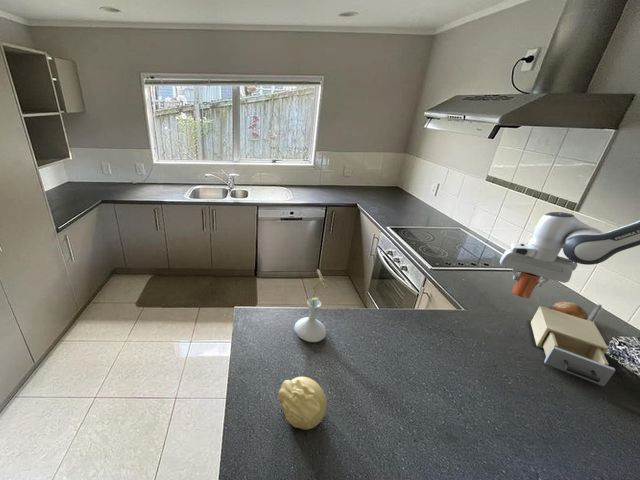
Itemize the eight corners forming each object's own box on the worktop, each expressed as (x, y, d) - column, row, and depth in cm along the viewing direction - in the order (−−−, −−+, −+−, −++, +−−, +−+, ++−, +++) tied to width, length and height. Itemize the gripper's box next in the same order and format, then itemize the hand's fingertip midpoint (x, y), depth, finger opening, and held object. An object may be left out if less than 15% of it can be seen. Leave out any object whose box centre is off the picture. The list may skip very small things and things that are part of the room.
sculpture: (270, 413, 75) (273, 385, 71) (297, 385, 83) (301, 359, 79) (305, 448, 67) (310, 419, 63) (331, 414, 75) (337, 386, 71)
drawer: (608, 397, 82) (621, 380, 80) (546, 372, 90) (556, 356, 87) (589, 356, 96) (600, 341, 94) (537, 337, 104) (545, 323, 101)
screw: (585, 328, 111) (596, 337, 107) (571, 325, 112) (581, 334, 107) (602, 301, 106) (614, 309, 102) (587, 299, 107) (598, 307, 102)
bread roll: (577, 323, 118) (582, 305, 118) (591, 329, 109) (597, 309, 109) (546, 314, 123) (551, 297, 123) (557, 318, 114) (562, 300, 114)
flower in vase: (323, 349, 96) (334, 288, 86) (291, 339, 99) (298, 280, 90) (327, 323, 107) (337, 268, 98) (298, 316, 111) (304, 261, 101)
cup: (529, 293, 115) (539, 272, 111) (530, 299, 111) (541, 278, 107) (511, 288, 118) (521, 267, 114) (512, 294, 114) (522, 273, 110)
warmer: (595, 368, 93) (608, 348, 90) (536, 346, 101) (546, 327, 98) (582, 340, 105) (593, 322, 101) (530, 322, 113) (539, 305, 109)
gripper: (577, 258, 104) (560, 288, 109) (506, 241, 115) (494, 270, 120) (582, 264, 99) (564, 296, 104) (508, 247, 110) (495, 276, 115)
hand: (526, 282), depth 112 cm, fingers closed on cup, 5 cm apart
